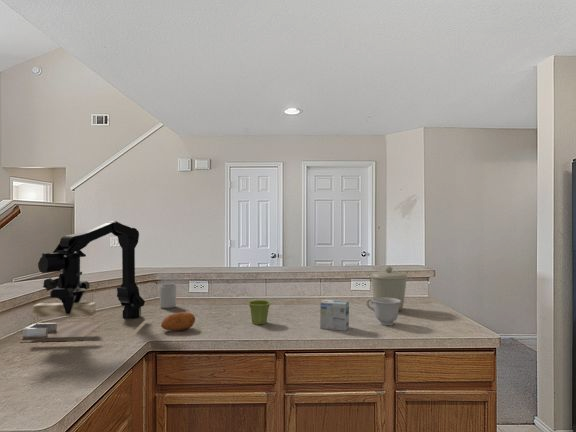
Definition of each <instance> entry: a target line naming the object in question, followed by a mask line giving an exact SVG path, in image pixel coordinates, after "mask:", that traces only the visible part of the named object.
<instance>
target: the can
mask: <svg viewBox="0 0 576 432" xmlns="http://www.w3.org/2000/svg"><path fill="white" fill-rule="evenodd" d="M159 290H160V292H159V295H160V296H159V306H160V308H161V309H165V310H166V309H174V308H175V306H176V305H177V304H176V303H177V302H176V301H177V285H176V283H175V282H163V283H161V285H160V287H159Z"/></svg>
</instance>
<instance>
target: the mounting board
mask: <svg viewBox="0 0 576 432" xmlns="http://www.w3.org/2000/svg"><path fill="white" fill-rule="evenodd" d="M56 323H57V331H56V332H48V336H47V337H30V338H23V336H22V337H20V339H21V340H23V339H24V340H25V339H58V338H60V339H61V338H66V339H67V338H84V337H86V336H87V335H88V334H90V333H91V332H93V331H94V330H95V329H97V328H98V327H100V326H101V325H103V324H104V323H105V321H82V322H81V321H80V322H79V321H78V322H77V321H76V322H73V321H71V322H56ZM66 341H67V340H52V341H48V340H47V341H43V343H61V342H63V343H64V342H65V343H67V342H66ZM84 341H85V340H80V342H84ZM19 343H20V344H28V343H29V344H31V343H37V341H21V342H19Z"/></svg>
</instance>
